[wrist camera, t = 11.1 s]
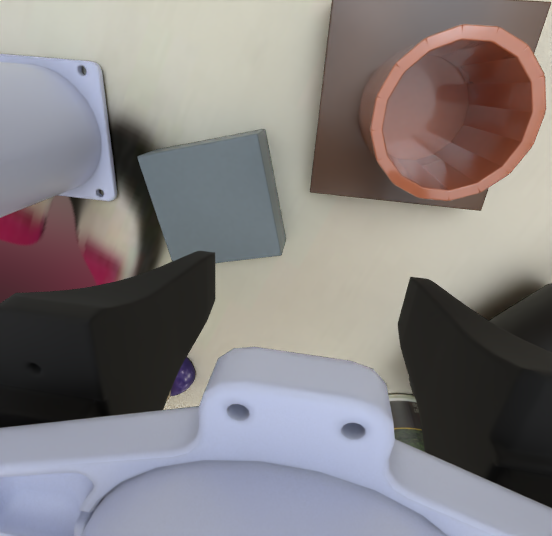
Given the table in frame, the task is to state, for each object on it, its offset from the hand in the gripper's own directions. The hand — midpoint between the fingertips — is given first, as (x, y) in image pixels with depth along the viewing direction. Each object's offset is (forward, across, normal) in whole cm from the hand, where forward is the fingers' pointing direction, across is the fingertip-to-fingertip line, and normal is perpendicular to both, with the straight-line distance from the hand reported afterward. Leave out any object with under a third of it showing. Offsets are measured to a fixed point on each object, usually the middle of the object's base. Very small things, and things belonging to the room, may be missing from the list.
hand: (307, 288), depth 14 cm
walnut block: (+10, -4, -6) cm, 13 cm away
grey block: (+10, +6, 0) cm, 12 cm away
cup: (+8, -4, -6) cm, 11 cm away
